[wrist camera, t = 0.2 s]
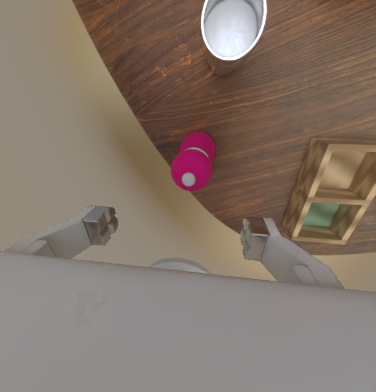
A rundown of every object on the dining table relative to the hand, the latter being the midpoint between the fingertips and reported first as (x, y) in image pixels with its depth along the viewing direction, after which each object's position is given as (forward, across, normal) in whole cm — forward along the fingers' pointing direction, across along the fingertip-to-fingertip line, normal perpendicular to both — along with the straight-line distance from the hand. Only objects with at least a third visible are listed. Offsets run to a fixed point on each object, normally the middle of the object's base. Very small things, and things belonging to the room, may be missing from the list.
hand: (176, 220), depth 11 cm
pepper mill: (+31, -1, -2) cm, 31 cm away
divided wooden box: (+31, +28, -11) cm, 43 cm away
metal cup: (+31, +3, +14) cm, 34 cm away
